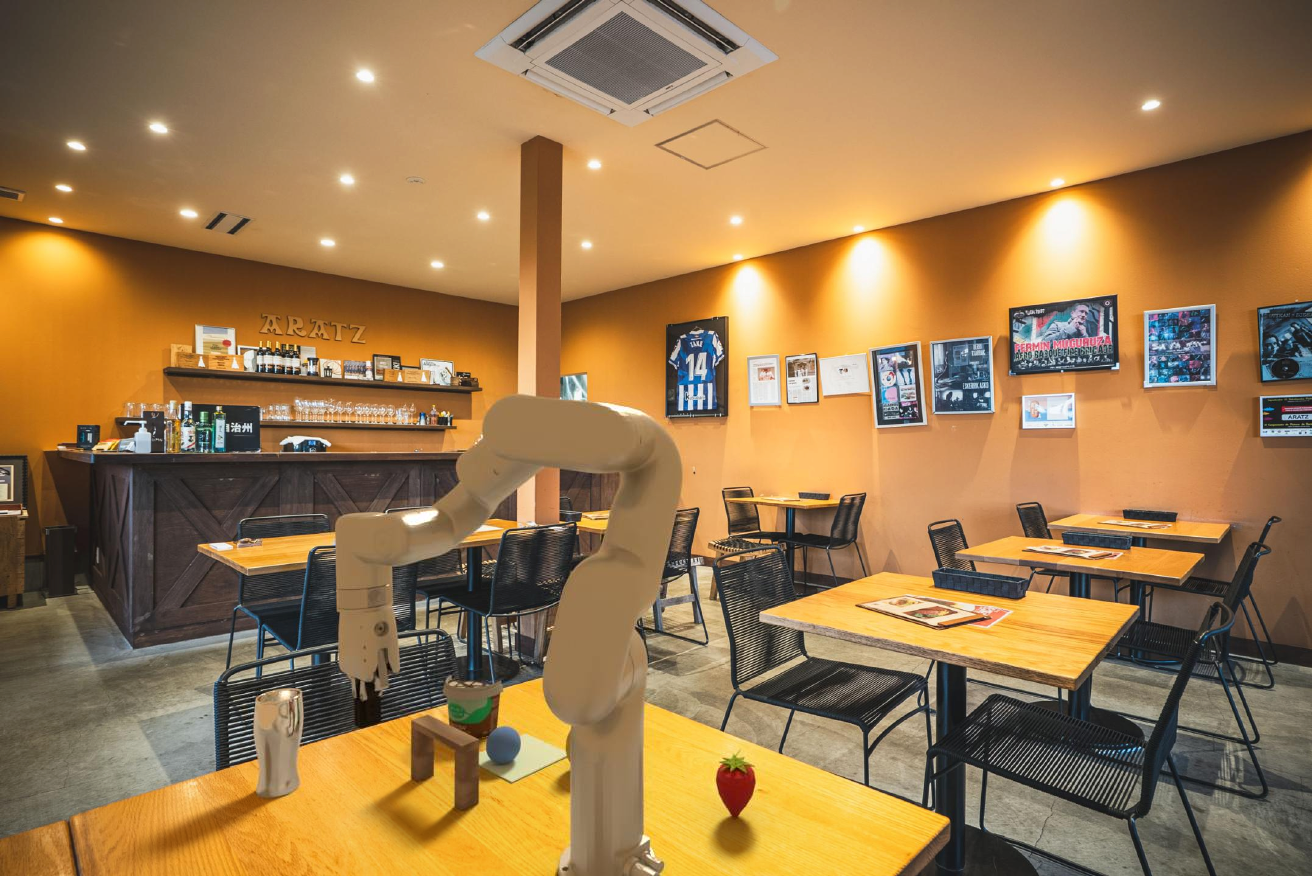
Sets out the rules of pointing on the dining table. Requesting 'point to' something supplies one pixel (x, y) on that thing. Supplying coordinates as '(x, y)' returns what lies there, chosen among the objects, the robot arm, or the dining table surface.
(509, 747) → the ball
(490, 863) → the dining table surface
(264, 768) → the metal pint tumbler
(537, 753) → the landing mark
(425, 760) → the bridge
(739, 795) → the strawberry
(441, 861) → the dining table surface
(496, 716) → the food container
